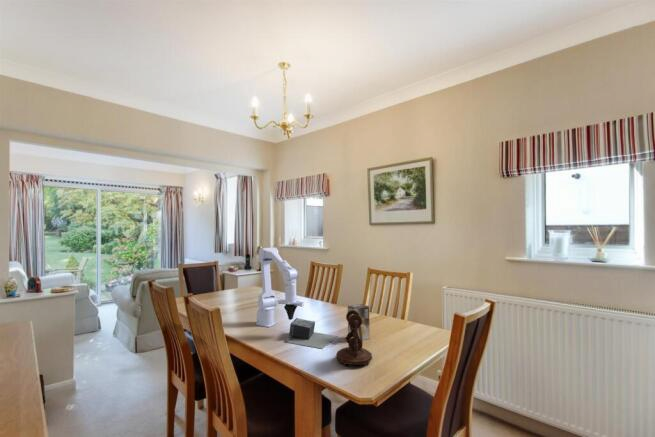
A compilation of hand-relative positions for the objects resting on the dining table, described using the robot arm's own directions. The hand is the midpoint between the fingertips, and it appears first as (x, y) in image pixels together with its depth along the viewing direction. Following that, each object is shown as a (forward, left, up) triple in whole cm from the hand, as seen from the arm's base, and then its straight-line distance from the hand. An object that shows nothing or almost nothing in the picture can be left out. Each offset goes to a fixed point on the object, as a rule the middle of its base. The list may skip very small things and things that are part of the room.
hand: (290, 319), depth 160 cm
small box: (+1, 0, -4) cm, 4 cm away
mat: (+12, 0, -8) cm, 15 cm away
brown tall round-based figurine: (+40, -14, -9) cm, 43 cm away
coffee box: (+33, +11, -9) cm, 36 cm away
